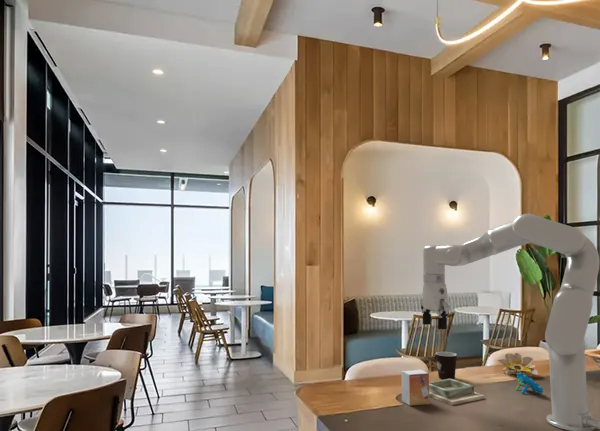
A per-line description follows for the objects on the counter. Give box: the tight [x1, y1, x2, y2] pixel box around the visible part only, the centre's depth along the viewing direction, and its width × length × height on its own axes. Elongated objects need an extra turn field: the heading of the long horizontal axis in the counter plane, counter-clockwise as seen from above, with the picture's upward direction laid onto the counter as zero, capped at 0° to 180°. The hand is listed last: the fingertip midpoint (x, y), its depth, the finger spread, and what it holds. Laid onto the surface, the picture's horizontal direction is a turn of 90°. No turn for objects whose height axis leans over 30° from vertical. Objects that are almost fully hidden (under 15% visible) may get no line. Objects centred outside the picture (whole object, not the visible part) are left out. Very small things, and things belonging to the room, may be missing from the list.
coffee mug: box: [434, 351, 457, 380], centre depth 184 cm, size 12×9×10 cm
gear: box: [515, 373, 544, 395], centre depth 163 cm, size 11×6×10 cm
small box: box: [400, 369, 430, 406], centre depth 152 cm, size 8×6×10 cm
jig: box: [429, 379, 485, 406], centre depth 160 cm, size 18×16×4 cm
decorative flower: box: [497, 352, 539, 377], centre depth 188 cm, size 15×11×10 cm
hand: (434, 326), depth 157 cm, fingers open, 9 cm apart
